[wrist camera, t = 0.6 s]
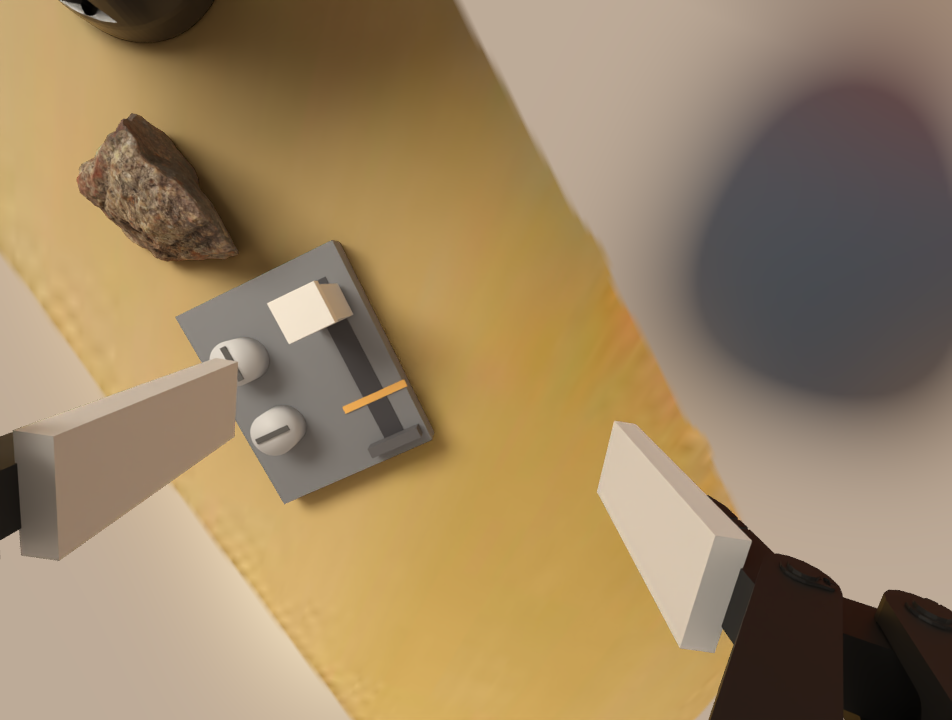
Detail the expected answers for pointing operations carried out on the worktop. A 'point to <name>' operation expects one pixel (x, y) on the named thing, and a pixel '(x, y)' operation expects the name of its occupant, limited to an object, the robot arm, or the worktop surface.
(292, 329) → the fader tab
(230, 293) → the console
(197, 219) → the rock
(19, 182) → the worktop surface
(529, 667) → the worktop surface
